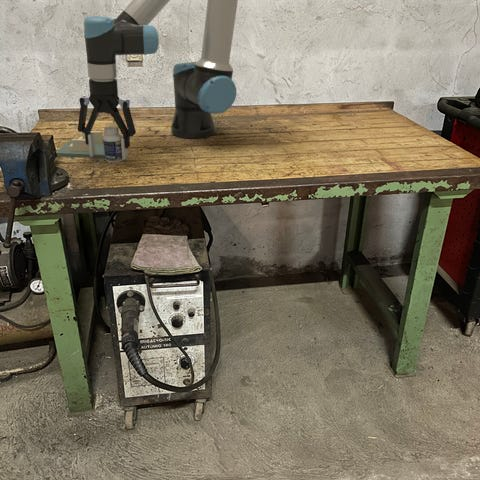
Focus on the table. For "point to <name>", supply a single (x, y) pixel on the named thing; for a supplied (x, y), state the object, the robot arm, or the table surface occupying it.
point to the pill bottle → (112, 144)
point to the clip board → (83, 147)
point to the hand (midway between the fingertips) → (108, 156)
